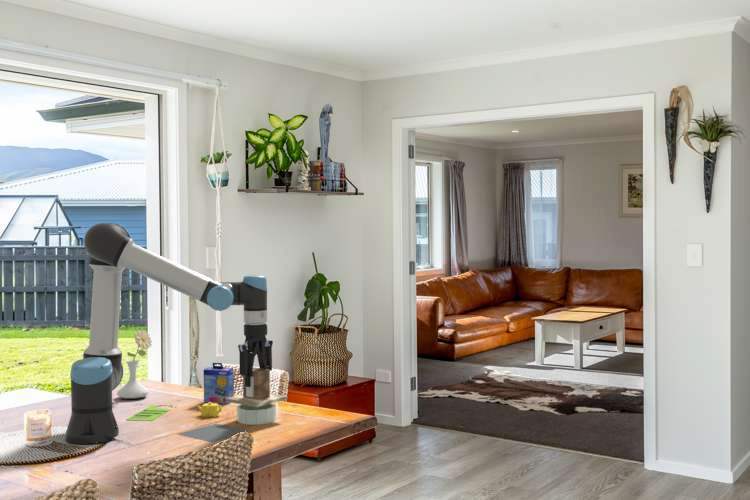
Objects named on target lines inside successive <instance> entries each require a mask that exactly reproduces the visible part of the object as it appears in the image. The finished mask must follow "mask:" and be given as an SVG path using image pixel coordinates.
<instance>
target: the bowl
mask: <svg viewBox="0 0 750 500" xmlns="http://www.w3.org/2000/svg"><path fill="white" fill-rule="evenodd" d="M276 406H277V405H275V404H274V403H271V404H267V405H263V406H259V407H253V406H248V405H242V404H238V405H237V406H236V421H237V422H238V424H241V425H242V424H243V425H250V426H251V425H253V426H254V425H255V426H256V425H265V424H267V425H268V424H270V423H273V422H276V420H277V419H276V418H277V414H276V413H277V410H276V409H277V408H276Z"/></svg>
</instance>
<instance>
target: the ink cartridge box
mask: <svg viewBox="0 0 750 500" xmlns="http://www.w3.org/2000/svg"><path fill="white" fill-rule="evenodd" d="M222 363H223V362H212V366H208V367H205V368H204V369H203V403H204V402H207V403H208V402H212V403H218V404H225V403H226V404H227V405H229V404H230V403H231V402H226V401H225V398H229V397H233V396H235V384H234V383H235V381H234V380H235V379H234V377H235V375H234V370H235V369H234V368H233V367H226V366H223V364H222ZM226 404H225V405H226ZM231 404H232V403H231Z"/></svg>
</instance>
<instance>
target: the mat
mask: <svg viewBox="0 0 750 500" xmlns="http://www.w3.org/2000/svg"><path fill="white" fill-rule="evenodd" d="M245 431H246V432H247V433H249V432H251V430H249V429H246V428H245V429H244V428H239V427H234V426H230V425H225V424H220V423H213V424H209V425H206V426H201V427H198V428H194V429H190V430H187V431H182V432H179V433H177V435H179V436H183V437H186V438H190V439H191V438H192V439H196V440H200V441H205V442H210V443H215V442H219V441H222V440H225V439H230V438H232V437H231V436H233V435H235V434H237V433H240V432H245ZM233 437H234V436H233Z"/></svg>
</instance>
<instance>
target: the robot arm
mask: <svg viewBox="0 0 750 500" xmlns="http://www.w3.org/2000/svg"><path fill="white" fill-rule="evenodd" d="M83 247H84V249H85V251H86V253H87V254H88V256H89V259H88V266H89V267H90V268H91V269H92V271H93V276H92V279H93V280H92V295H91V308H90V309H91V310H90V311H91V312H90V325H89V326H90V327H89V340H88V343H89V345H88V346H87V347H86V348H85V349H84V350H83V356H82V357H83V358H82V359H78V360H76V361H74V362H73V363H72V364H71V368H70V373H69V374H70V400H71V403H70V406H71V415H70V418H69V421H68V424H67V427H66V432H65V441H66V442H67V443H70V444H76V445H88V444H87V443H95V444H97V443H96V442H102V443H107V442H112V441H114V440H115V439H116V437H118V436H119V435H120V431H119V430H120V429H119V426H118V425H119V424H118V423H117V420H116V417H115V414H114V412H113V391H114V390H115V389H116V388H118V387H119V385H120V384H121V383H122V380H123V378H124V367H123V363H122V361H123V358H122V357H123V351H122V350H121V349H120V348H119V346H118V345H119V342H118V341H119V327H120V325H119V324H120V311H121V294H122V280H123V277H122V276H123V272H124V270H126V269H128V270H130V271H133V272H135V273H136V274H138V275H141V276H143V277H146V278H148V279H150V280H153V281H155V283H159V284H161V285H163V286H165V287H168V288H170V289H172V290H175V291H176V292H179V293H180V294H183V295H185V296H188V297H190V298H192V299H195V300H196V301H199V302H201V303H202V304H204V305H207V306H209V307H210V309H212V310H214V311H217V312H218V311H219V312H221V311H225V310H228V309H229V308H230V307H231V306H243V323H244V325H243V336H245V339H244V343H242V344H238V345H237V346H238V347H237V348H238V351H239V376H242V377H243V376H244V377H245V387H246V396H247V397H254V377H252V370H253V367H254V363H255V357H256V356H257V360H258V361H257V362H258V366H259V367H258V368H262V369H269V370H270V372H271V371H273V351H272V350H273V343H274V342H273V340H269V339H267V337H266V336H267V335H268V324H267V322H268V287H267V286H268V285H267V283H268V282H267V278H266V276H265V275H257V274H256V275H255V274H251V275H250V274H249V275H244V276H243V280H242V281H236V282H235V281H234V282H233V281H232V282H231V281H230V282H229V281H216V280H213V279H211V278H210V277H207V276H205V275H203V274H201V273H198V272H196V271H193V270H191V269H190V268H187V267H186V266H183V265H181V264H179V263H177V262H174V261H172V260H170V259H168V258H166V257H164V256H161V255H159V254H157V253H155V252H152V251H151V250H148V249H146V248H144V247H142V246H140V245H138V244H135V242H134V239H133V238H132V236H131V235H130V233H129V231H128V230H127V229H126V228H125V227H124V226H122V225H121V224H120V223H115V222H101V223H100V222H99V223H97V224H94V225H92V226H91V227H89V229H88V230H87V231H86V232H85V235H84V238H83Z"/></svg>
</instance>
